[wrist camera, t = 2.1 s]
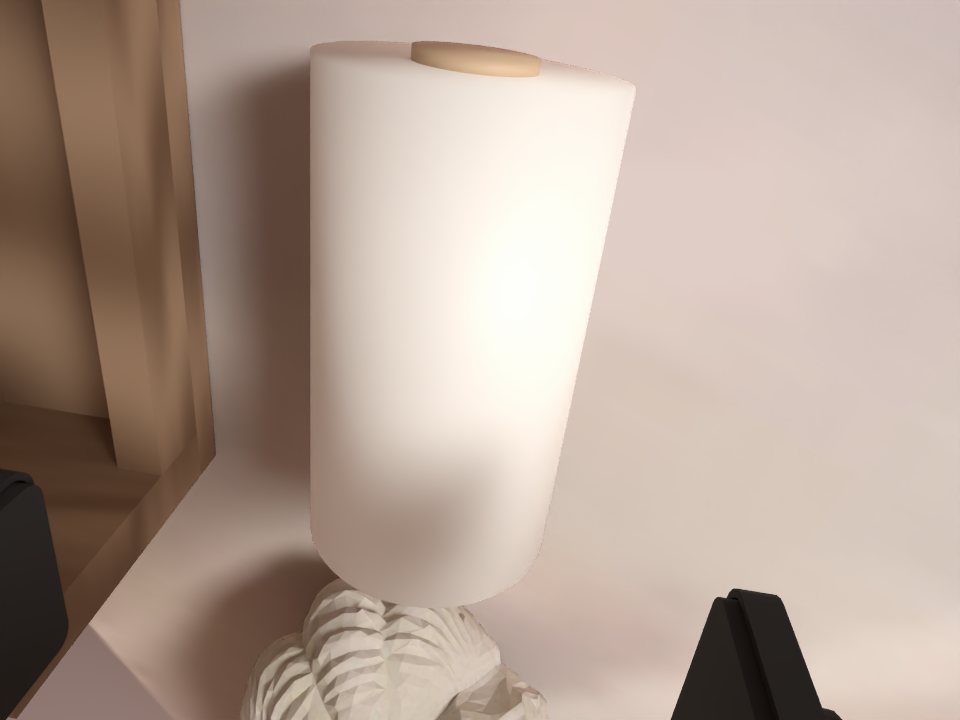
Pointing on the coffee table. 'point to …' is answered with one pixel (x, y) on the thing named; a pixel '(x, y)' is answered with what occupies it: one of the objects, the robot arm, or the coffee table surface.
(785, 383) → the coffee table surface
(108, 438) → the holder
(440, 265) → the roll
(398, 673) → the fossil replica
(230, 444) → the coffee table surface
